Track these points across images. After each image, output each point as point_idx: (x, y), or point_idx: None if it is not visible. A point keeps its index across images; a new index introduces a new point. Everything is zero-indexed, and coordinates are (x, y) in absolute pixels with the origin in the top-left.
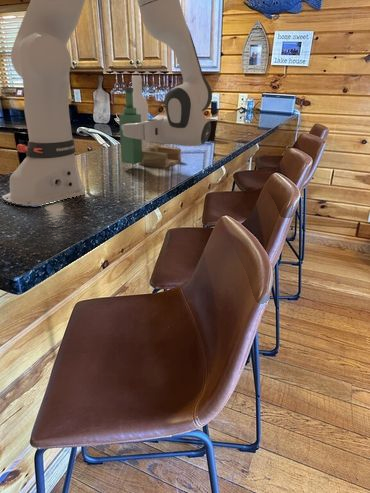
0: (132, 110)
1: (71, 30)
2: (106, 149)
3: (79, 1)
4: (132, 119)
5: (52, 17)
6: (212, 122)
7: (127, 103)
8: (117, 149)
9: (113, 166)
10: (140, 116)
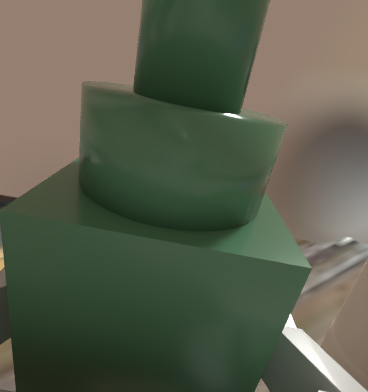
0: (111, 138)
1: None
2: (316, 247)
3: None
4: (24, 278)
5: None
6: None
7: (141, 15)
8: (344, 266)
9: None
10: (285, 299)
